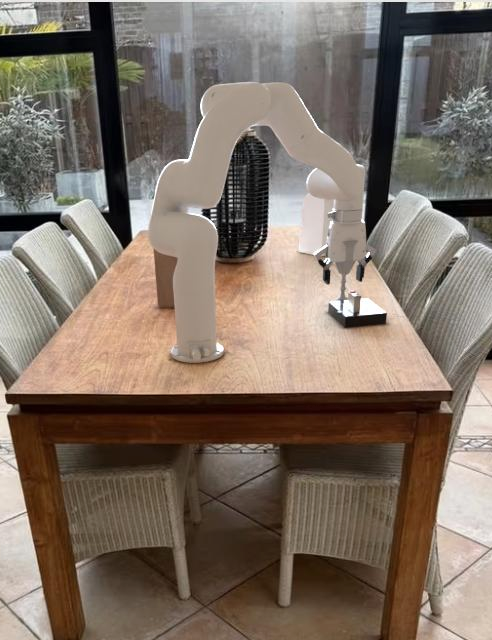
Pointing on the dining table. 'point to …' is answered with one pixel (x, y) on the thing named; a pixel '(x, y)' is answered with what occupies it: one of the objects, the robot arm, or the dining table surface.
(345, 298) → the chalice
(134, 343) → the dining table surface
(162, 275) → the block
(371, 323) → the black knob base
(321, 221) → the milk
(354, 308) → the box with red tab
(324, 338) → the dining table surface
